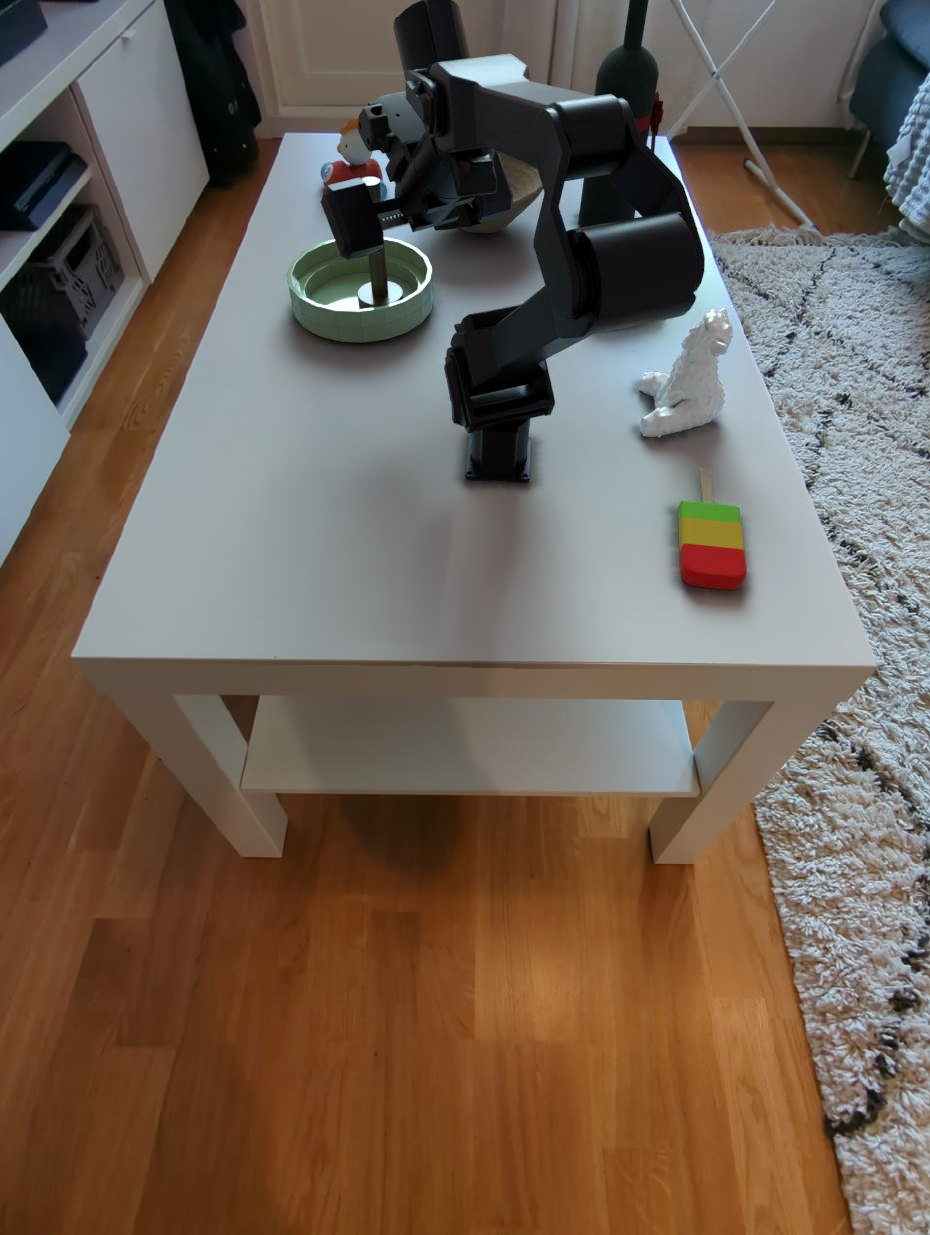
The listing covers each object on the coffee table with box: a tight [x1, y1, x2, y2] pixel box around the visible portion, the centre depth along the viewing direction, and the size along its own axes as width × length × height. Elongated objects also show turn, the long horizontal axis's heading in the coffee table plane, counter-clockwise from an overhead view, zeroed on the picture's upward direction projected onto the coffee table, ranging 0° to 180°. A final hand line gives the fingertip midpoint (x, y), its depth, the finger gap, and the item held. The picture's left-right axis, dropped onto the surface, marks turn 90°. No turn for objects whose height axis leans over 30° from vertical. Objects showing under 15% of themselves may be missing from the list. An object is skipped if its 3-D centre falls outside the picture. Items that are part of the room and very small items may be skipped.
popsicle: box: [677, 466, 747, 591], centre depth 70 cm, size 6×15×2 cm, turn 172°
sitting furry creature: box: [638, 307, 734, 439], centre depth 76 cm, size 10×9×12 cm
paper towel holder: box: [357, 177, 404, 309], centre depth 87 cm, size 6×6×14 cm
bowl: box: [459, 153, 544, 234], centre depth 102 cm, size 18×18×8 cm
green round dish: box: [285, 236, 435, 344], centre depth 91 cm, size 17×17×4 cm
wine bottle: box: [577, 0, 665, 228], centre depth 94 cm, size 8×10×30 cm
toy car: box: [320, 117, 388, 201], centre depth 107 cm, size 9×9×10 cm
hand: (397, 236), depth 81 cm, fingers open, 9 cm apart
